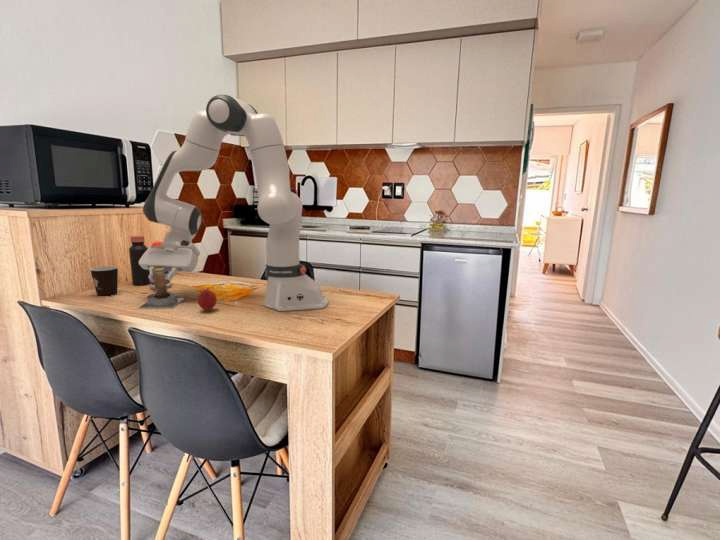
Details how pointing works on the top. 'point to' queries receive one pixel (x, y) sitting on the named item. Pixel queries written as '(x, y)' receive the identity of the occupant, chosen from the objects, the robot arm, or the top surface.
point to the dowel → (160, 282)
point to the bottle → (136, 252)
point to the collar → (162, 301)
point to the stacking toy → (164, 270)
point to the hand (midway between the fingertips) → (159, 279)
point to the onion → (207, 299)
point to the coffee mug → (105, 280)
